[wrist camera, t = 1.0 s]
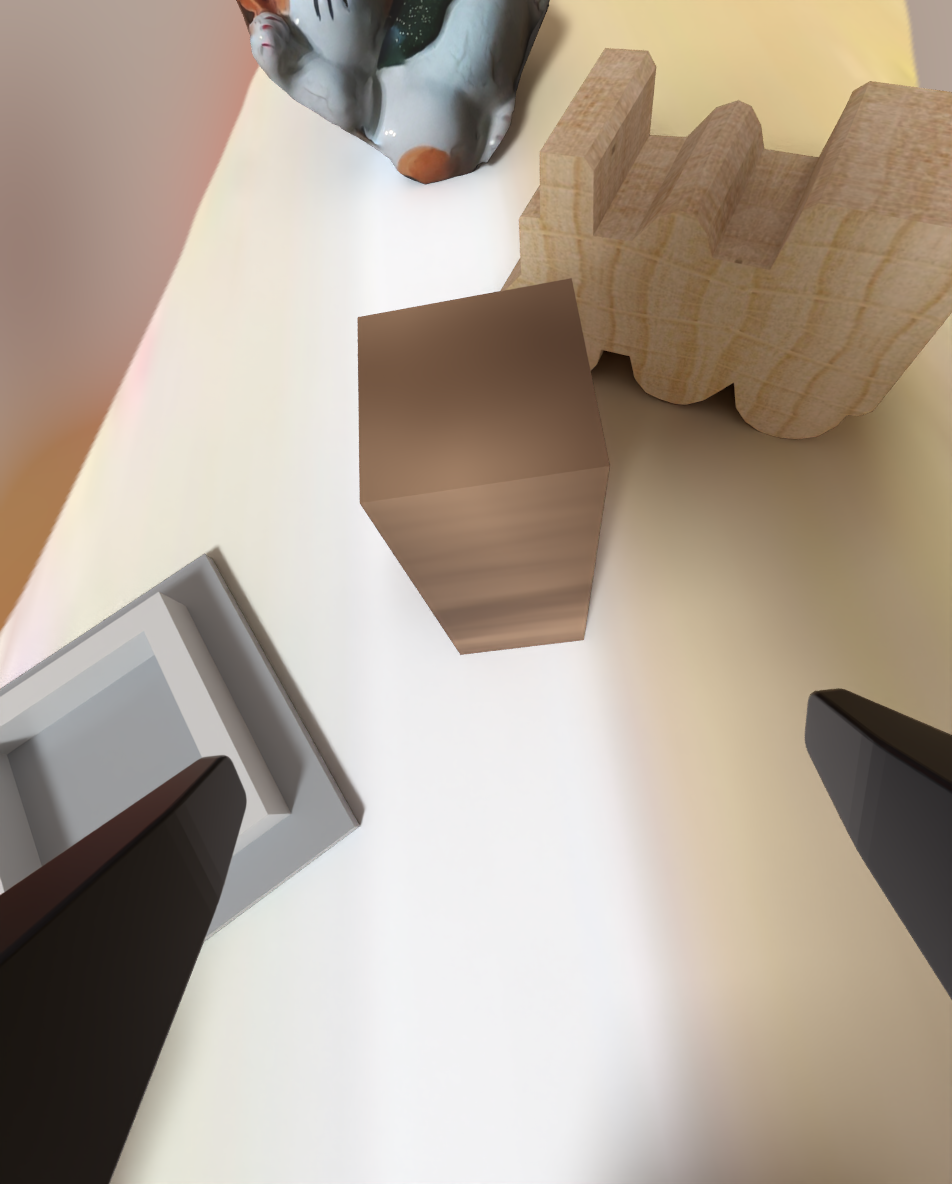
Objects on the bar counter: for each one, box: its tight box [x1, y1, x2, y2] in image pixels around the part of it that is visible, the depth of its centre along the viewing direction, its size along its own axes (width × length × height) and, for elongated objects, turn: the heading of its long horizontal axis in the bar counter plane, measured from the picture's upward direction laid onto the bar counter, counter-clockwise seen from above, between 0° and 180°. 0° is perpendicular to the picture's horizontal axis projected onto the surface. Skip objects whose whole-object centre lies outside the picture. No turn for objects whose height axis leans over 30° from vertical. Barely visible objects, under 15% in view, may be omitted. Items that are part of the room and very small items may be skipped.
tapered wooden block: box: [358, 278, 610, 655], centre depth 18 cm, size 5×5×12 cm
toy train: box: [501, 48, 952, 439], centre depth 22 cm, size 6×17×10 cm, turn 64°
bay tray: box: [0, 554, 360, 941], centre depth 22 cm, size 14×14×2 cm
